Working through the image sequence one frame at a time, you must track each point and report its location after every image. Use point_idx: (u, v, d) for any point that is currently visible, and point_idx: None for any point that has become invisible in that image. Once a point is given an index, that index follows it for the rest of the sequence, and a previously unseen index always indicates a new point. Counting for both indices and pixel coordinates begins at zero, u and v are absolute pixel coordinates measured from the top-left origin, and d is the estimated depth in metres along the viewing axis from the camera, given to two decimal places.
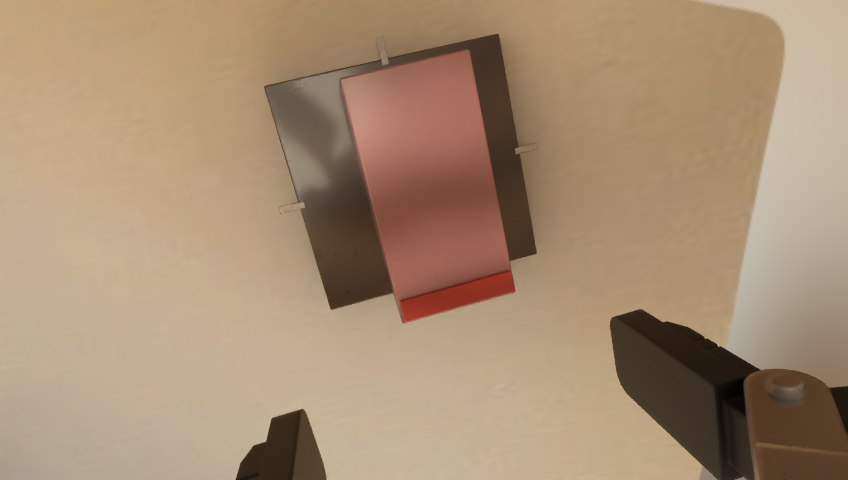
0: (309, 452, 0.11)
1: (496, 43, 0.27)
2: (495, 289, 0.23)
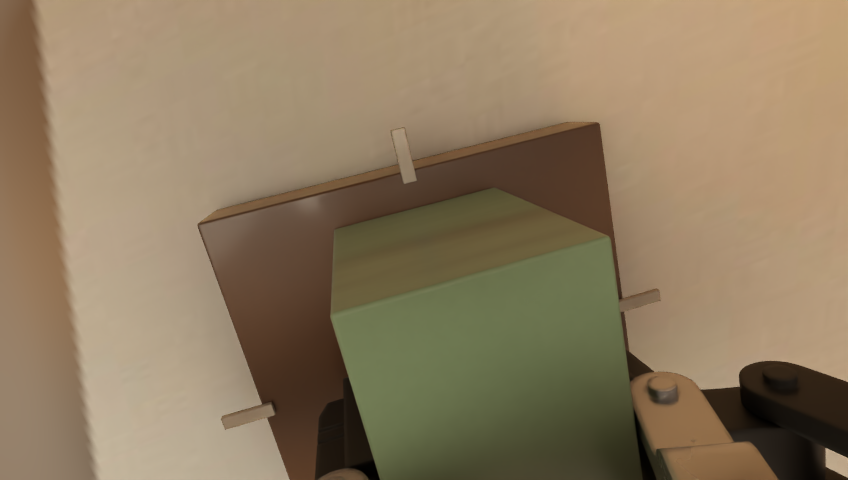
0: None
1: None
2: None
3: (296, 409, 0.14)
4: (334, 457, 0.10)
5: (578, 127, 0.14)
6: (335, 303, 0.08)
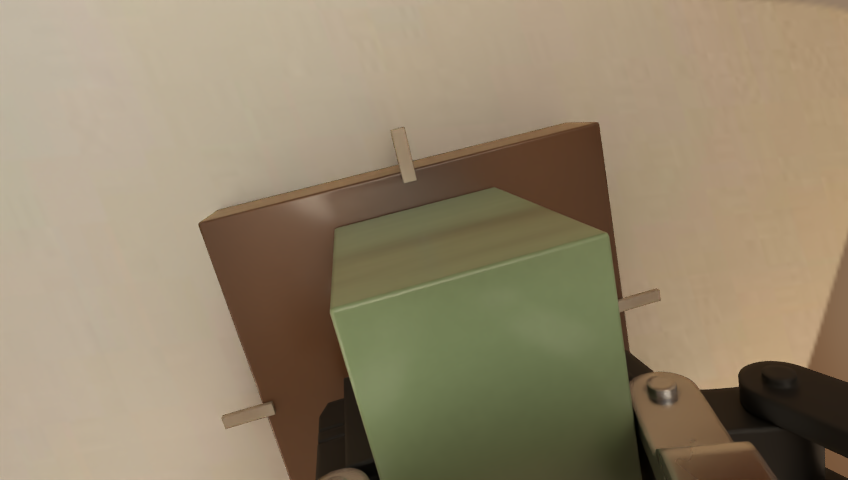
0: None
1: None
2: None
3: (404, 204, 0.13)
4: (335, 456, 0.10)
5: None
6: (334, 299, 0.08)
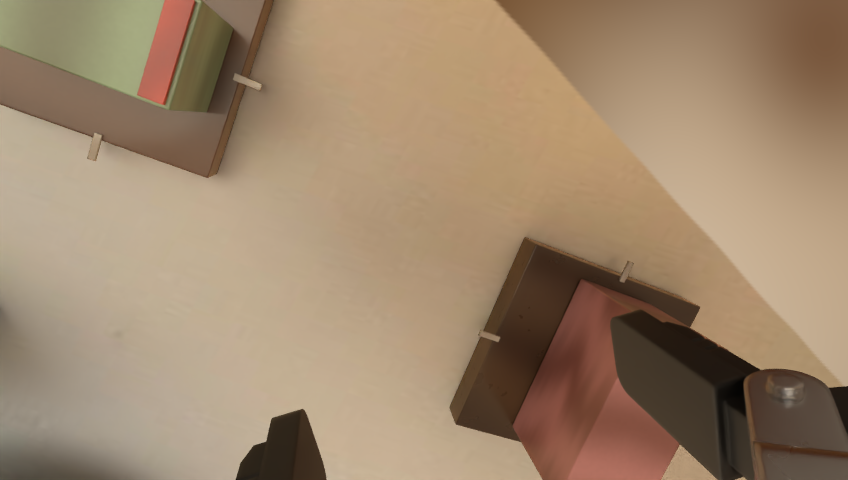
0: (309, 452, 0.11)
1: (695, 312, 0.34)
2: None
3: None
4: None
5: None
6: None
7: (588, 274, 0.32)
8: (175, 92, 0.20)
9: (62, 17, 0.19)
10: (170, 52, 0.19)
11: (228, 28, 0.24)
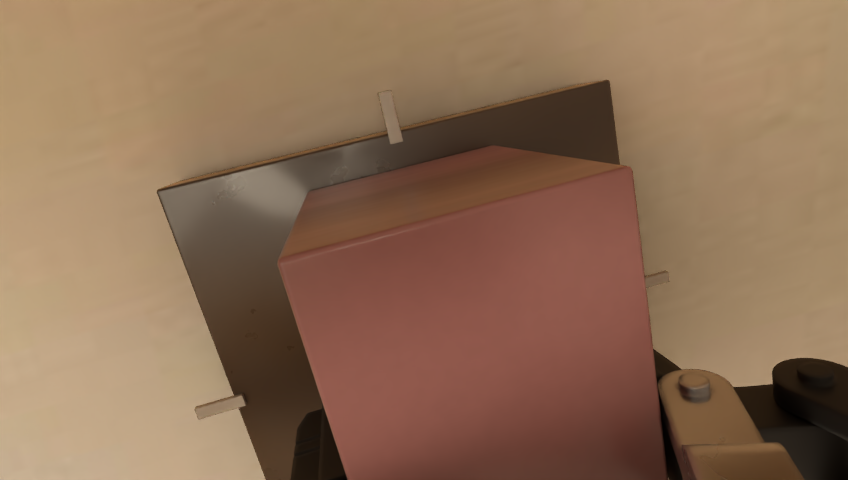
0: None
1: (605, 98, 0.14)
2: None
3: None
4: (310, 470, 0.10)
5: None
6: None
7: (315, 174, 0.14)
8: None
9: None
10: None
11: None
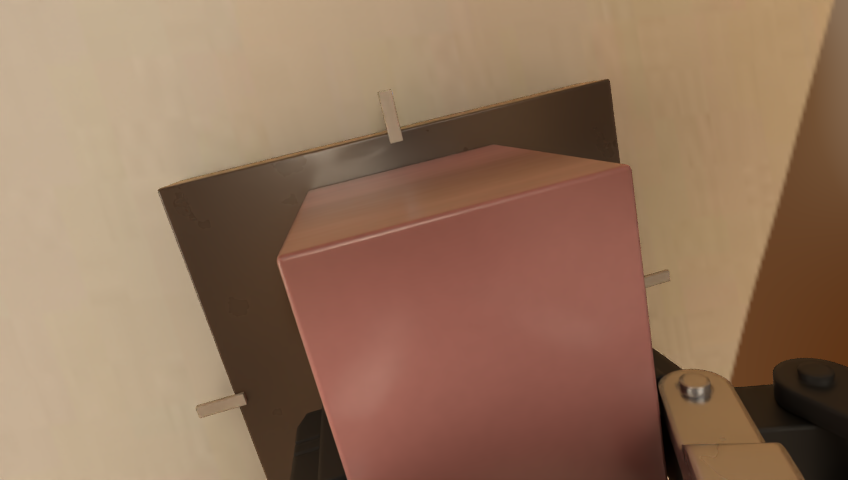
0: None
1: None
2: None
3: None
4: (310, 471, 0.10)
5: None
6: None
7: None
8: None
9: None
10: None
11: None
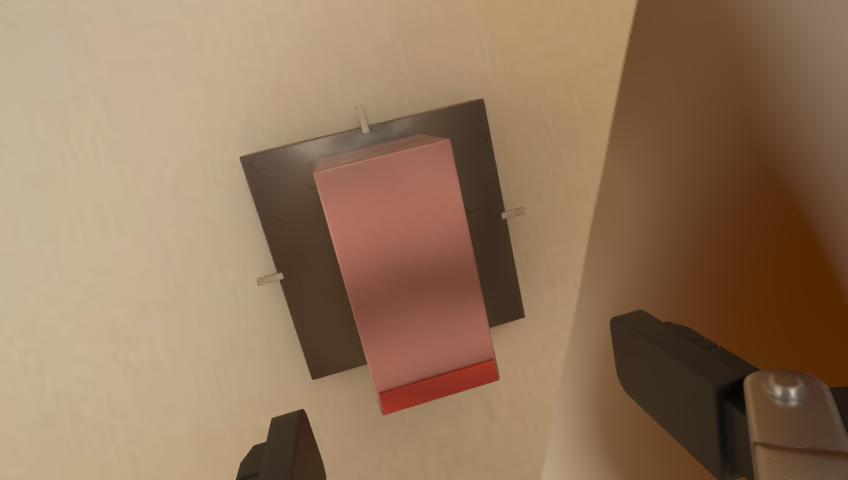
0: (309, 452, 0.11)
1: (517, 316, 0.30)
2: (478, 379, 0.22)
3: None
4: None
5: None
6: None
7: (487, 176, 0.27)
8: None
9: None
10: None
11: None
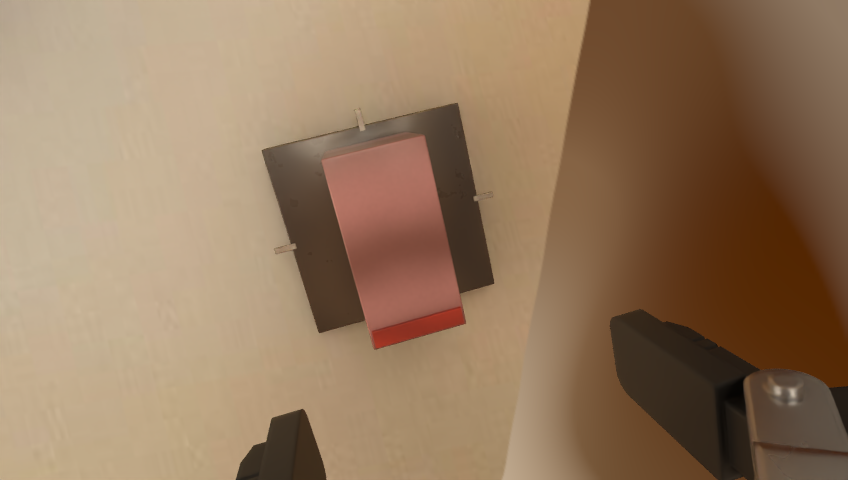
0: (309, 452, 0.11)
1: (487, 282, 0.36)
2: (449, 322, 0.28)
3: None
4: None
5: None
6: None
7: (461, 166, 0.34)
8: None
9: None
10: None
11: None
